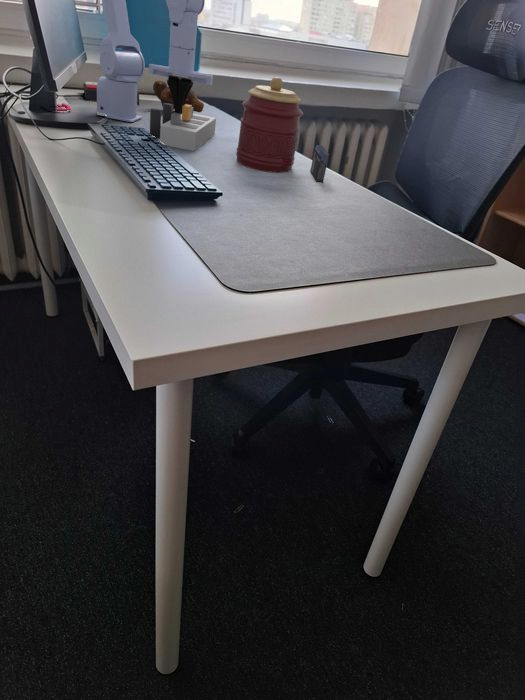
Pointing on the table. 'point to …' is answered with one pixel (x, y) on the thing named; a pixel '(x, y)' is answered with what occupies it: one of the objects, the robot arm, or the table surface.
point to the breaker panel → (187, 131)
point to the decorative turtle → (166, 97)
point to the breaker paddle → (186, 112)
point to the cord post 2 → (167, 112)
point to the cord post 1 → (155, 122)
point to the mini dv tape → (319, 163)
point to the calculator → (95, 91)
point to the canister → (269, 128)
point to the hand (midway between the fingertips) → (178, 113)
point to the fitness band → (63, 106)
